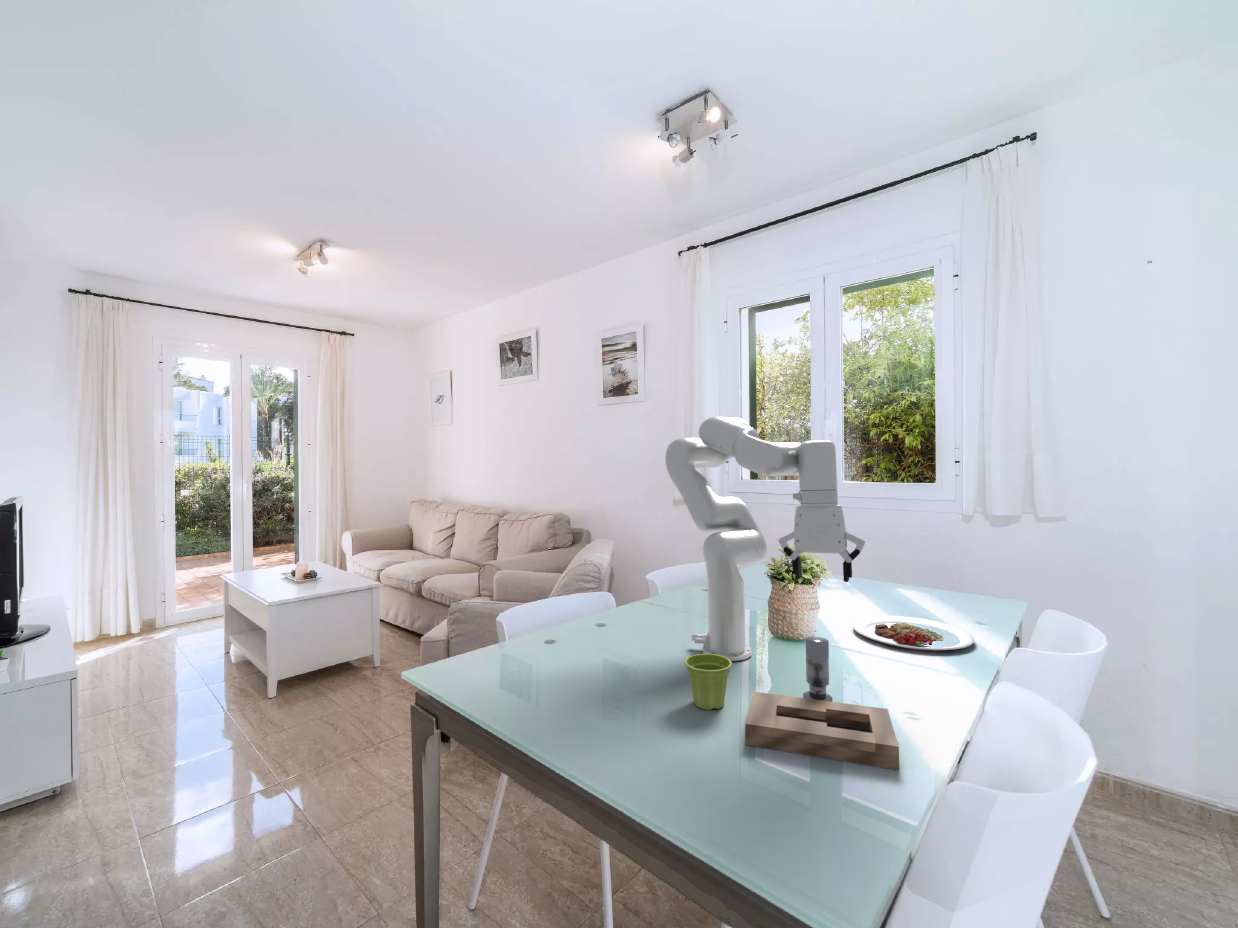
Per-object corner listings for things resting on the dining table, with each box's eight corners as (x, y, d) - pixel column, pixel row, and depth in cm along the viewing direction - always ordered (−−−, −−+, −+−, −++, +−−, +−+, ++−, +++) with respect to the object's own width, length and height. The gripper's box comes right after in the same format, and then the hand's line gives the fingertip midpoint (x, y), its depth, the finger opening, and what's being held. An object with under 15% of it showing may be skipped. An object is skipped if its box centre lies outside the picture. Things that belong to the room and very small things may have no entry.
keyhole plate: (745, 744, 93) (745, 723, 94) (753, 710, 107) (753, 691, 107) (899, 769, 85) (898, 746, 85) (887, 728, 98) (887, 708, 98)
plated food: (929, 620, 167) (929, 609, 167) (1002, 654, 137) (1002, 641, 137) (835, 622, 166) (834, 611, 166) (887, 657, 136) (886, 643, 136)
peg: (803, 707, 107) (802, 642, 108) (803, 696, 113) (802, 634, 113) (833, 711, 106) (832, 645, 106) (832, 700, 111) (831, 637, 111)
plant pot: (722, 718, 103) (721, 673, 103) (677, 707, 108) (677, 664, 108) (738, 700, 111) (738, 658, 111) (696, 690, 116) (696, 650, 116)
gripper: (773, 499, 115) (776, 579, 115) (861, 498, 107) (865, 585, 106) (781, 498, 122) (784, 574, 121) (864, 497, 113) (868, 579, 112)
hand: (822, 579), depth 113 cm, fingers open, 9 cm apart
